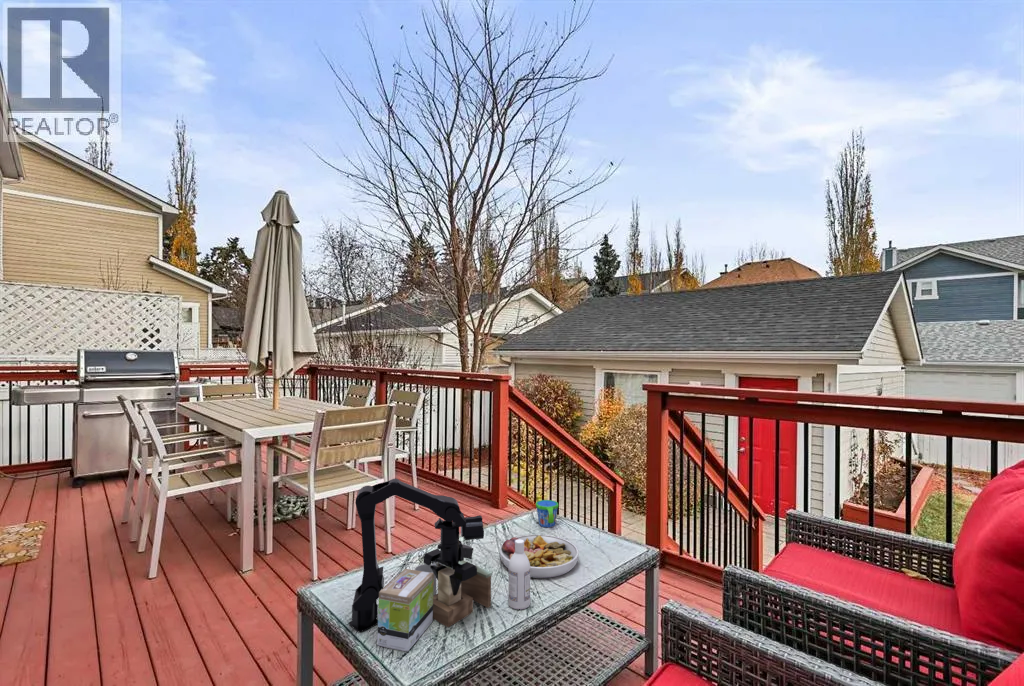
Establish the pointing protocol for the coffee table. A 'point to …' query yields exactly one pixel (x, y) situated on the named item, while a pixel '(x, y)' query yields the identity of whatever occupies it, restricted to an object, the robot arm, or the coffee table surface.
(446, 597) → the peg
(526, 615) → the coffee table surface
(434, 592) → the cup
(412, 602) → the tea box
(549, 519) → the snack cup
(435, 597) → the socket block
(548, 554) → the bowl
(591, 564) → the coffee table surface
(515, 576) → the bath foam
